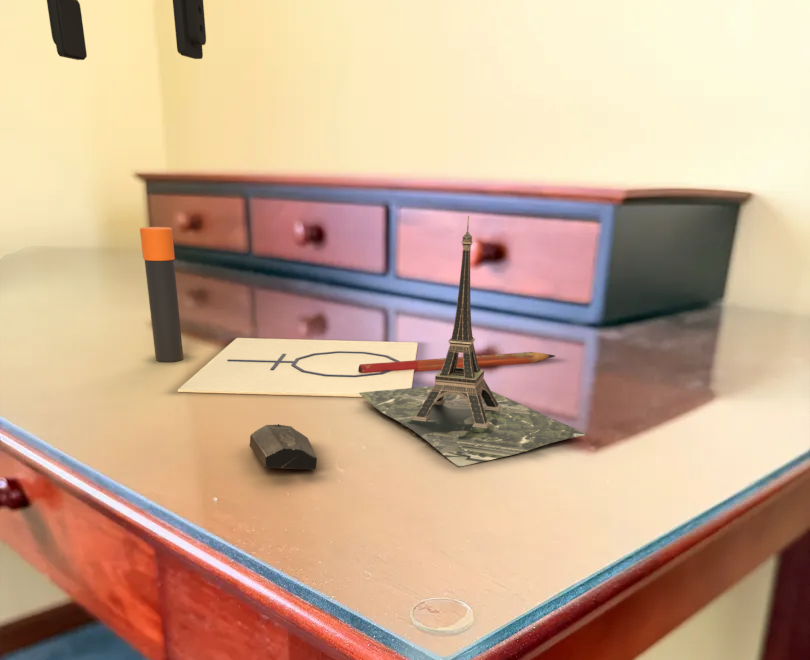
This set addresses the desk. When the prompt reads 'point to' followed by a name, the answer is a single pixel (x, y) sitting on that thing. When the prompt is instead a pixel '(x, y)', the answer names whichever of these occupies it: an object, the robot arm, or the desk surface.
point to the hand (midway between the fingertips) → (131, 57)
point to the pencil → (438, 363)
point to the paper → (303, 368)
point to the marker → (162, 292)
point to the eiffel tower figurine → (468, 401)
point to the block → (283, 448)
